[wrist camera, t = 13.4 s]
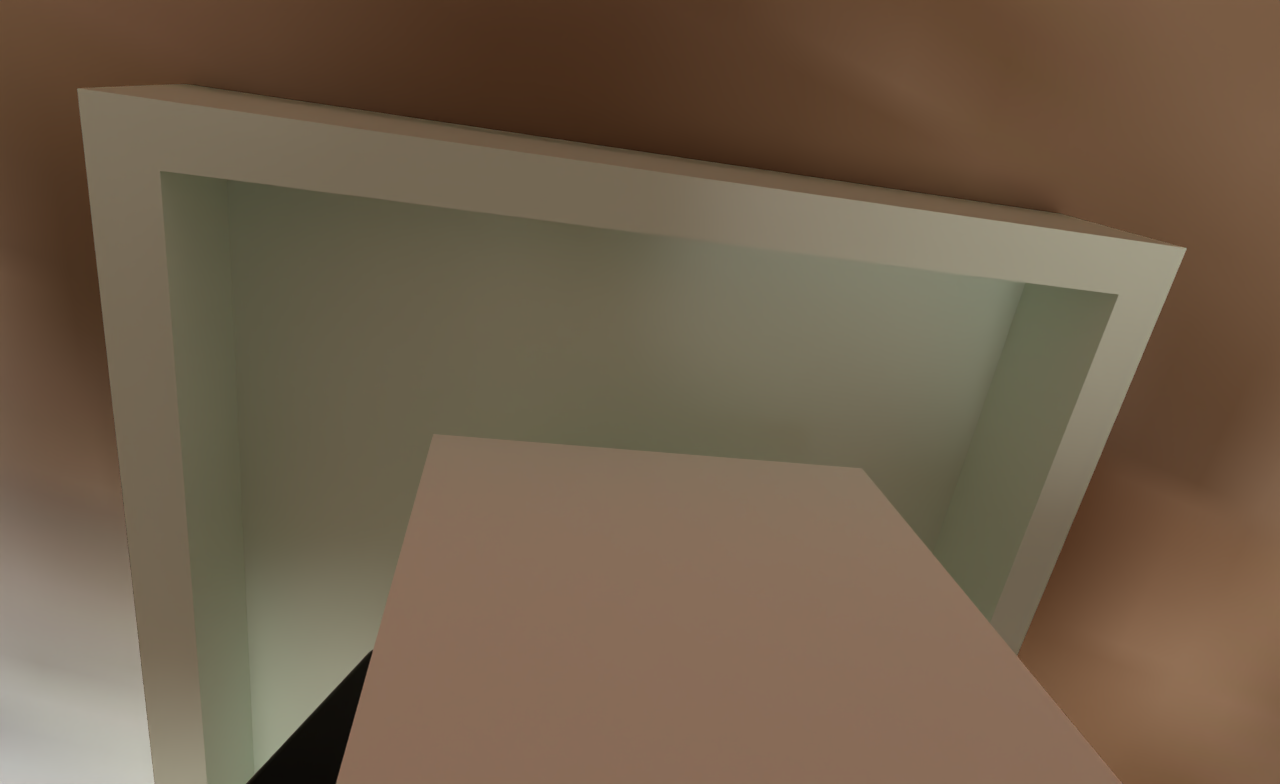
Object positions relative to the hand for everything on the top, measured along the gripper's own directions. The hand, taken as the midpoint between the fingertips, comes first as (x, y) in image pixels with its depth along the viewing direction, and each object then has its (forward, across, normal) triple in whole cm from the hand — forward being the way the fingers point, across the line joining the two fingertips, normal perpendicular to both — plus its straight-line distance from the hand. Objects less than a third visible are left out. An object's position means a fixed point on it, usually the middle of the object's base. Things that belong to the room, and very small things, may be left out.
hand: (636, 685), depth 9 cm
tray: (+3, 0, 0) cm, 3 cm away
